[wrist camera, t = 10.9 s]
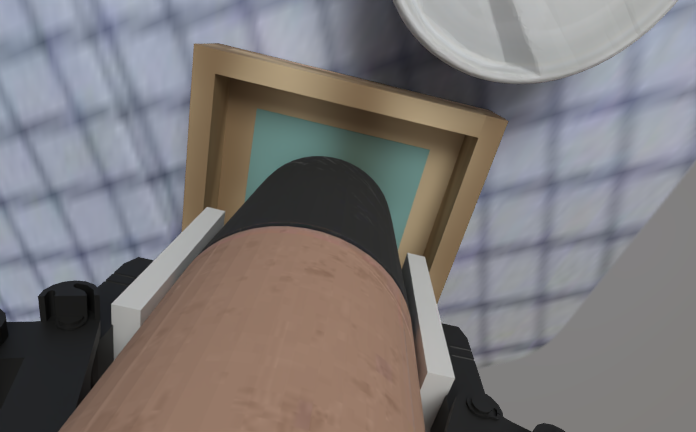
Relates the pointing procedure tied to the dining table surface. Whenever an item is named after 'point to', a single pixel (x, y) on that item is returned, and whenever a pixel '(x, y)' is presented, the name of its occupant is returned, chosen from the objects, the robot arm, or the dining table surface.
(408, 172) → the tray
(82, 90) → the dining table surface
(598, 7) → the ramekin
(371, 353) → the travel mug
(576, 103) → the dining table surface
